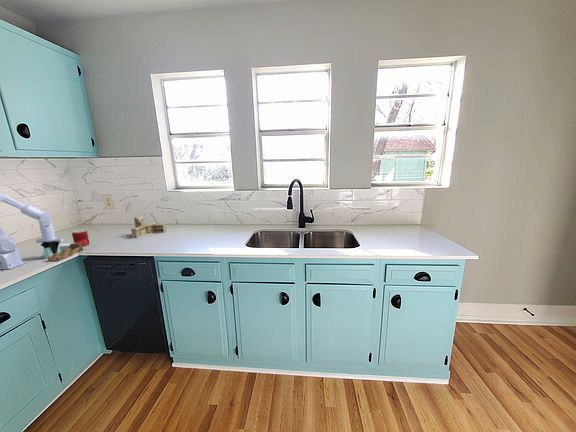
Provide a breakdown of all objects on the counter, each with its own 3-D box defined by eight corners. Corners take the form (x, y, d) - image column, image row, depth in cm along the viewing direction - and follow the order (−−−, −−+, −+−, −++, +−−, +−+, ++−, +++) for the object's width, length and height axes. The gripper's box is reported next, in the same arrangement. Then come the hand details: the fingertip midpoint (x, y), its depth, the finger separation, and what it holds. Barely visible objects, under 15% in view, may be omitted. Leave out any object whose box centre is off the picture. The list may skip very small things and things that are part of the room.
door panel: (49, 258, 147) (47, 248, 146) (45, 258, 147) (43, 248, 146) (61, 253, 155) (58, 244, 154) (57, 253, 155) (55, 244, 154)
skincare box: (49, 253, 157) (69, 252, 158) (47, 246, 156) (68, 245, 157) (56, 249, 163) (76, 249, 164) (55, 243, 162) (75, 242, 163)
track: (59, 261, 143) (57, 253, 142) (48, 261, 143) (46, 253, 142) (83, 250, 161) (81, 243, 159) (73, 250, 160) (72, 243, 159)
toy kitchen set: (151, 238, 183) (148, 219, 179) (131, 238, 185) (128, 219, 181) (166, 231, 201) (164, 213, 197) (148, 231, 203) (145, 213, 199)
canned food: (91, 244, 171) (88, 229, 169) (77, 248, 165) (74, 232, 162) (86, 243, 175) (83, 228, 173) (73, 246, 169) (69, 231, 166)
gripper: (65, 230, 152) (70, 250, 155) (41, 230, 152) (46, 251, 155) (55, 233, 145) (60, 254, 148) (30, 234, 145) (36, 255, 148)
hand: (52, 253), depth 151 cm, fingers closed on door panel, 2 cm apart
